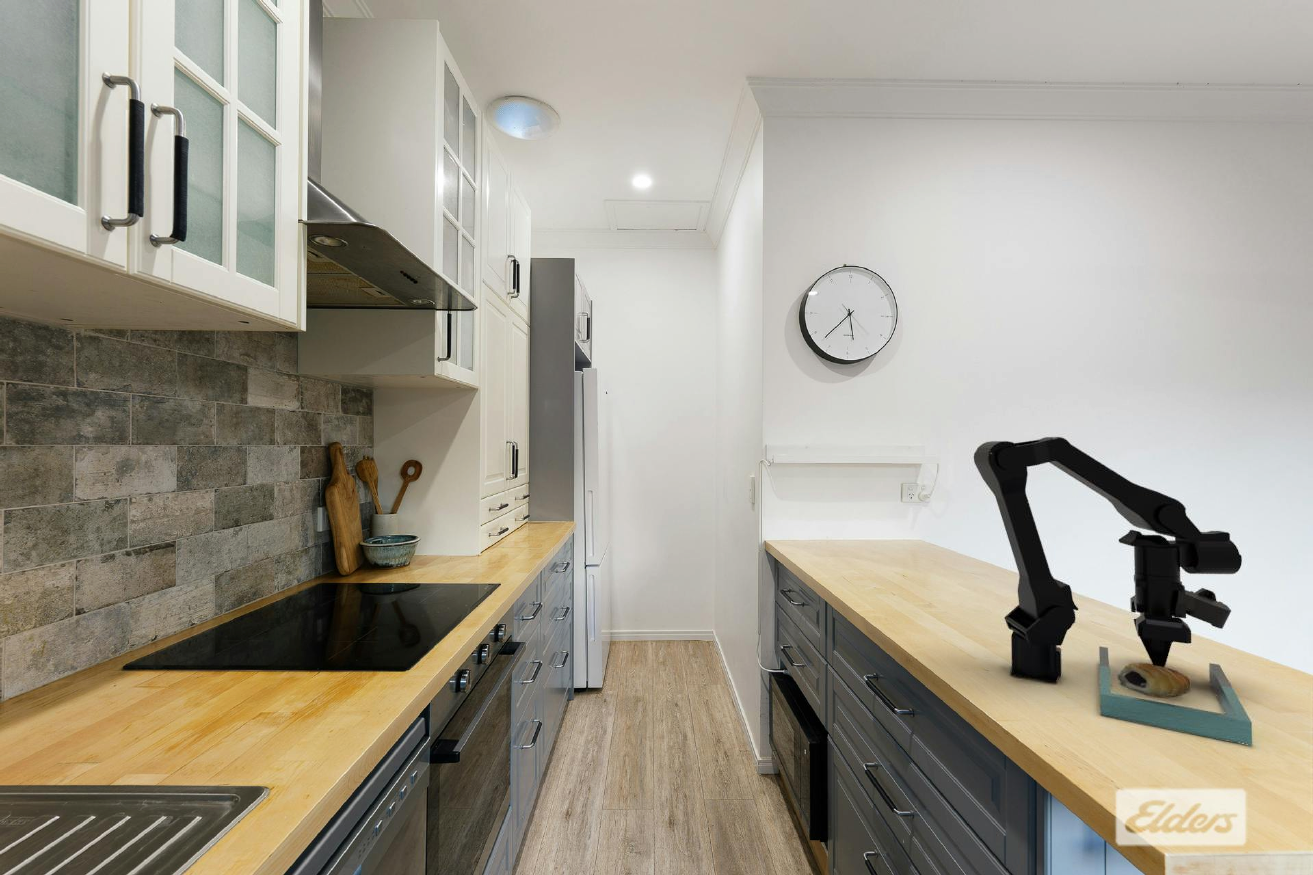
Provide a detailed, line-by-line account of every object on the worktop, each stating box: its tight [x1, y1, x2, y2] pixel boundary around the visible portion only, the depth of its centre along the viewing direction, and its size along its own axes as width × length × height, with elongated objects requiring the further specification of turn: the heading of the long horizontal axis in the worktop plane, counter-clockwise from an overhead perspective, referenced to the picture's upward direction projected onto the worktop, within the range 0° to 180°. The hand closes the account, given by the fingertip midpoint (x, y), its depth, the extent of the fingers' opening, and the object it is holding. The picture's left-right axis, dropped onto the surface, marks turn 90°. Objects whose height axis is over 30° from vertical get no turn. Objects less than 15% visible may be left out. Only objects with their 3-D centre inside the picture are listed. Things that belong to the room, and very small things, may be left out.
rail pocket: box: [1098, 645, 1253, 746], centre depth 91 cm, size 15×24×3 cm, turn 144°
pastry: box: [1117, 662, 1192, 698], centre depth 94 cm, size 9×7×4 cm
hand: (1159, 669), depth 98 cm, fingers closed
